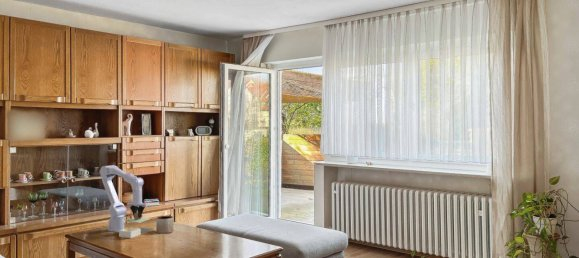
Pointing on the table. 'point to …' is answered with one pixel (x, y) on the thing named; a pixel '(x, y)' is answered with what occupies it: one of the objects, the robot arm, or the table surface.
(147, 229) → the mat
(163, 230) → the planter
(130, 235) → the beige bevelled block
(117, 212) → the robot arm
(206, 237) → the table surface
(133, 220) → the lid
